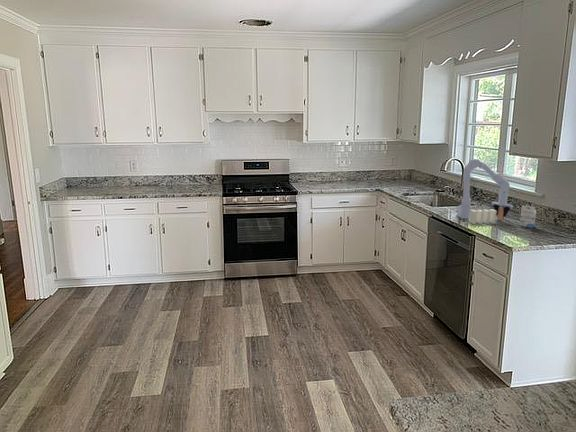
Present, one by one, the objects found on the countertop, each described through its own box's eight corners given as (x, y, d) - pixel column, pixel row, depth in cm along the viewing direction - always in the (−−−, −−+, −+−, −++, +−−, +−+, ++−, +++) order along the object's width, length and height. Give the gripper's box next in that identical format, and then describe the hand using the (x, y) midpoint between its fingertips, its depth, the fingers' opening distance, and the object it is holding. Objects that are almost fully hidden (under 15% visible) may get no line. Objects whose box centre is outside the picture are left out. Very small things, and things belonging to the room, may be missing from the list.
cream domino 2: (475, 222, 301) (477, 209, 298) (477, 222, 301) (479, 209, 299) (480, 223, 296) (481, 211, 294) (482, 223, 296) (483, 211, 294)
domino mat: (463, 221, 305) (463, 220, 305) (499, 219, 310) (499, 219, 310) (473, 225, 293) (473, 224, 293) (510, 223, 298) (510, 223, 298)
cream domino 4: (488, 221, 302) (490, 209, 300) (490, 221, 302) (492, 209, 300) (493, 223, 297) (494, 210, 295) (495, 223, 298) (496, 210, 296)
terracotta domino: (496, 219, 309) (498, 207, 306) (498, 219, 309) (500, 206, 307) (501, 220, 304) (502, 208, 302) (503, 220, 304) (505, 208, 302)
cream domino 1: (469, 222, 300) (470, 209, 298) (471, 222, 300) (472, 209, 298) (473, 224, 295) (474, 211, 293) (475, 224, 295) (477, 211, 293)
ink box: (534, 227, 290) (537, 206, 287) (532, 228, 287) (535, 207, 283) (520, 224, 296) (523, 204, 293) (518, 226, 292) (521, 205, 289)
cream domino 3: (482, 221, 301) (483, 209, 299) (484, 221, 302) (485, 209, 300) (486, 223, 297) (488, 211, 294) (488, 223, 297) (490, 211, 295)
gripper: (490, 196, 306) (488, 214, 309) (510, 199, 294) (507, 218, 298) (495, 195, 310) (493, 213, 313) (515, 198, 299) (512, 217, 302)
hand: (500, 215), depth 306 cm, fingers closed on terracotta domino, 5 cm apart
